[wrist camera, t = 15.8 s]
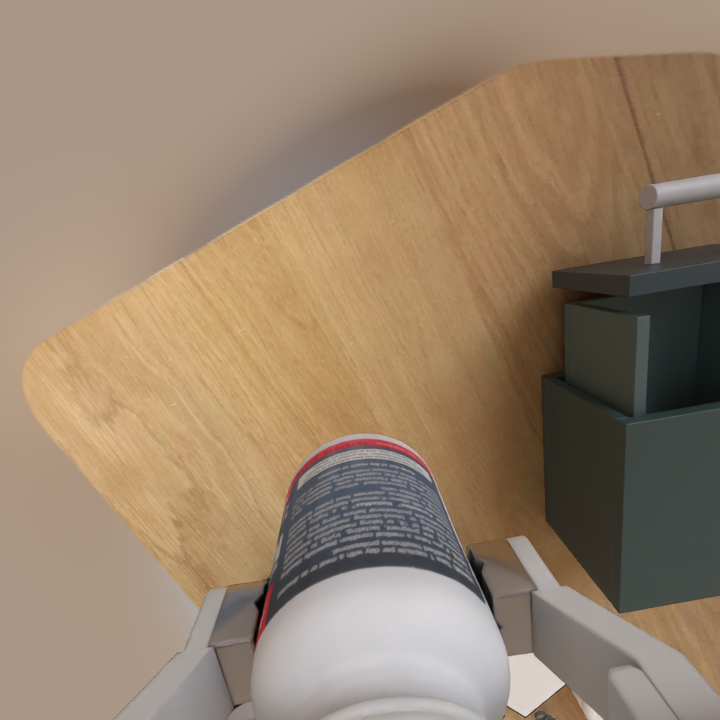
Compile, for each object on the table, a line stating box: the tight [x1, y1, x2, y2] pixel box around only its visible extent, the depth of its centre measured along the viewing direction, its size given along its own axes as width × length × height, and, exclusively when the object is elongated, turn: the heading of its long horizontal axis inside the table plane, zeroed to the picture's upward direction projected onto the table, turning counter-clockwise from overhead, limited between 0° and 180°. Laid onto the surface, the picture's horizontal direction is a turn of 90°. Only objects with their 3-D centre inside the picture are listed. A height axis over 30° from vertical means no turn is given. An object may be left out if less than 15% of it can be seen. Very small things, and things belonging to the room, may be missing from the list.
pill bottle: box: [251, 434, 511, 720], centre depth 9 cm, size 5×5×9 cm
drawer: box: [552, 173, 720, 417], centre depth 26 cm, size 18×12×8 cm
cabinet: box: [542, 372, 720, 613], centre depth 29 cm, size 15×14×10 cm
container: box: [503, 653, 566, 720], centre depth 38 cm, size 20×12×3 cm, turn 50°
